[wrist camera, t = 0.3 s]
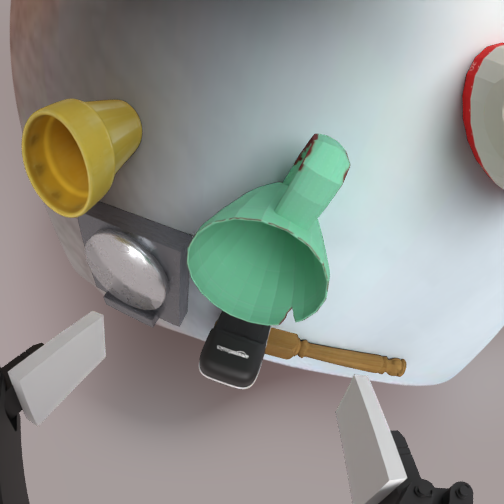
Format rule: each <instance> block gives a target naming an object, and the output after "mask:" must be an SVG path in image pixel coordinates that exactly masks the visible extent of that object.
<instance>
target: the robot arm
mask: <svg viewBox="0 0 504 504" xmlns="http://www.w3.org/2000/svg"><path fill="white" fill-rule="evenodd" d="M105 357H106V351H105V336H104V315H102V314H99V313H97V312H94V311H92V312H90V313H89V314H87V315H86V316H84V317H83V318H81V319H80V320H78V321H77V322H76V323H74V324H73V325H71V326H70V327H68V328H67V329H66V330H64V331H63V332H61V333H60V334H58V335H57V336H56V337H54V338H53V339H51V340H50V341H49V342H47V343H46V344H43V343H40V344H36V345H33V346H32V347H30V348H29V349H27V350H26V352H23V353H22V354H21V355H20V356H18V357H16V358H15V359H13V360H12V361H11V362H9V363H8V364H7V365H5V366H4V367H2V368H1V367H0V504H29V499H28V494H27V489H26V483H25V476H24V469H23V460H22V448H21V430H20V429H21V426H20V414H19V412H20V411H21V410H23V412H24V414H25V416H26V418H27V419H28V420H29V421H31V422H32V423H34V424H35V425H36V426H39V425H40V424H41V423H42V422H43V421H44V420H45V419H46V418H47V416H49V414H50V413H51V412H52V411H53V410H54V409H55V408H56V407H57V406H58V405H59V404H60V403H61V402H62V401H63V400H64V399H65V398H66V397H67V396H68V394H69V393H70V392H71V391H72V390H73V389H74V388H75V387H76V386H77V385H78V384H79V383H80V382H81V381H82V380H83V379H84V378H85V377H86V376H87V375H88V374H89V373H90V372H91V371H92V370H93V369H94V368H95V367H96V366H97V365H98V364H99V363H100V362H101V361H102V360H103V359H104V358H105ZM335 413H336V418H337V422H338V427H339V432H340V437H341V442H342V448H343V453H344V458H345V464H346V469H347V475H348V480H349V486H350V492H351V499H352V504H473V490H472V488H471V487H470V485H469V484H467V483H465V482H457V483H455V484H453V486H451V487H450V488H449V489H445V488H434V486H433V485H432V483H430V482H429V481H427V480H424V479H421V477H420V475H419V472H418V470H417V467H416V465H415V462H414V459H413V457H412V455H411V452H410V450H409V448H408V445H407V443H406V440H405V438H404V437H403V436H402V434H401V433H400V432H399V431H390V429H389V427H388V424H387V422H386V419H385V417H384V414H383V412H382V409H381V407H380V404H379V402H378V399H377V397H376V394H375V392H374V390H373V388H372V385H371V383H370V380H369V378H368V376H366V375H355V374H354V376H353V378H352V380H351V382H350V384H349V387H348V389H347V391H346V393H345V395H344V397H343V399H342V401H341V403H340V404H339V407H338V409H337V410H336V412H335Z"/></svg>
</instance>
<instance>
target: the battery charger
mask: <svg viewBox="0 0 504 504" xmlns="http://www.w3.org/2000/svg"><path fill="white" fill-rule="evenodd" d="M271 326H272V325H269V326H267V325H262V324H256V323H251V322H247V321H244V320H242V319H239V318H236V317H234V316H231V315H229V314H228V313H226V312H225V311H222V313H221V315H220V317H219V319H218V321H217V323H216V325H215V326H214V328H213V329H211V331H210V333H209V335H208V337H207V340H206V342H205V345H204V347H203V349H202V352H201V355H200V361H199V370H200V372H201V374H202V375H203V376H205V377H206V378H208V379H210V380H213V381H215V382H218V383H220V384H223V385H226V386H230V387H233V388H236V389H247V388H249V387H251V386H252V385H253V384H254V382H255V380H256V378H257V375H258V373H259V370H260V367H261V364H262V360H263V357H264V354H265V350H266V345H267V340H268V336H269V332H270V329H271Z"/></svg>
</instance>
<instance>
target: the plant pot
mask: <svg viewBox="0 0 504 504" xmlns="http://www.w3.org/2000/svg"><path fill="white" fill-rule="evenodd" d="M141 138H142V125H141V121H140V119H139V116H138V114H137V113H136V111H135V110H134V109H133V108H132V107H131V106H130V105H129V104H128V103H126V102H124V101H121V100H101V101H89V102H83V101H80V100H77V99H65V100H62V101H59V102H56V103H53V104H51V105H48V106H46V107H44V108H41V109H39V110H37V111H36V112H34V113H33V114H32V115H31V116H30V117H29V119H28V120H27V122H26V124H25V127H24V130H23V135H22V157H23V162H24V166H25V169H26V172H27V175H28V178H29V180H30V182H31V184H32V186H33V188H34V189H35V191H36V192H37V194H38V195H39V197H40V198H41V199H42V200H43V201H44V203H45V204H46V205H47V206H48V207H50V208H51V209H52V210H53V211H55V212H56V213H58V214H60V215H62V216H65V217H69V218H75V217H79V216H81V215H83V214H85V213H86V212H87V211H88V210H89V209H91V208H92V207H93V206H94V205H95V204H96V203H97V202H98V201H99V200H100V199H101V198H102V197H103V196H104V195H105V194H106V193H107V192H108V190H109V189H110V187H111V185H112V183H113V180H114V175H115V174H116V173H117V171H118V170H119V169H120V168H121V167H122V165H123V164H124V163H125V162H126V161H127V160H128V158H129V157H130V156H131V155H132V154H133V153H134V152H135V151H136V149H137V148H138V146H139V144H140V142H141Z"/></svg>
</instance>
